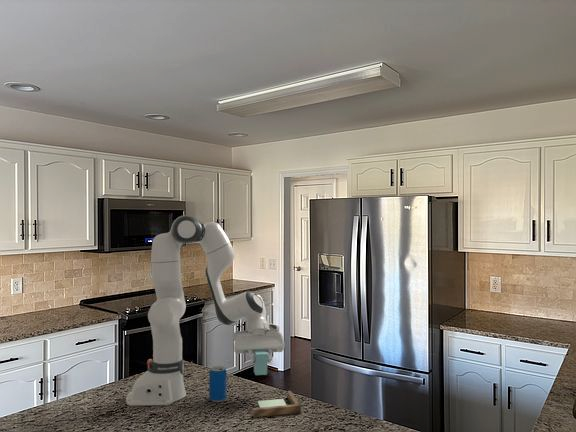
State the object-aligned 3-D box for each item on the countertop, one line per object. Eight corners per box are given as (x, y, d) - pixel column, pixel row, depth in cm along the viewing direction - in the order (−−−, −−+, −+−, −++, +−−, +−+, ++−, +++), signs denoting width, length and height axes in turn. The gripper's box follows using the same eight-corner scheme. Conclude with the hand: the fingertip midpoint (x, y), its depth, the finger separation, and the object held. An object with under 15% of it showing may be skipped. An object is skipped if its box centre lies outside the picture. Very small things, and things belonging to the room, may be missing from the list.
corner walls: (253, 417, 157) (253, 410, 157) (247, 400, 172) (247, 394, 172) (300, 412, 161) (300, 405, 161) (290, 397, 175) (290, 390, 176)
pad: (261, 412, 161) (261, 411, 161) (257, 401, 171) (257, 401, 171) (289, 409, 163) (289, 409, 163) (283, 399, 173) (283, 398, 173)
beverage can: (222, 403, 169) (223, 371, 169) (206, 402, 170) (206, 370, 171) (228, 397, 175) (228, 366, 176) (212, 395, 177) (213, 365, 177)
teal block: (255, 375, 173) (256, 354, 174) (253, 371, 178) (254, 351, 178) (267, 374, 174) (267, 353, 175) (265, 370, 179) (265, 350, 179)
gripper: (233, 327, 181) (235, 358, 171) (282, 325, 185) (287, 356, 176) (231, 335, 185) (233, 366, 175) (280, 334, 190) (284, 364, 180)
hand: (261, 361), depth 176 cm, fingers closed on teal block, 4 cm apart
